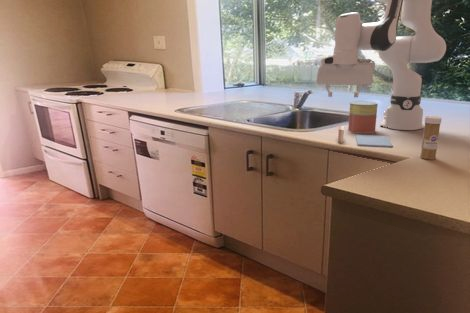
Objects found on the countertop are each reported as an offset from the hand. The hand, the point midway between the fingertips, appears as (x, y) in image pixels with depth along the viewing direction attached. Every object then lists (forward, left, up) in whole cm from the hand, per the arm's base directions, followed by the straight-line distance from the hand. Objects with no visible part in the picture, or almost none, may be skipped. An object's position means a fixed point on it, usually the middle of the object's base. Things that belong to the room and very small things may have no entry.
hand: (342, 97), depth 140 cm
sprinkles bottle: (+20, +27, -17) cm, 38 cm away
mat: (0, +12, -17) cm, 21 cm away
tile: (0, 0, -17) cm, 17 cm away
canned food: (-20, +9, -17) cm, 28 cm away
